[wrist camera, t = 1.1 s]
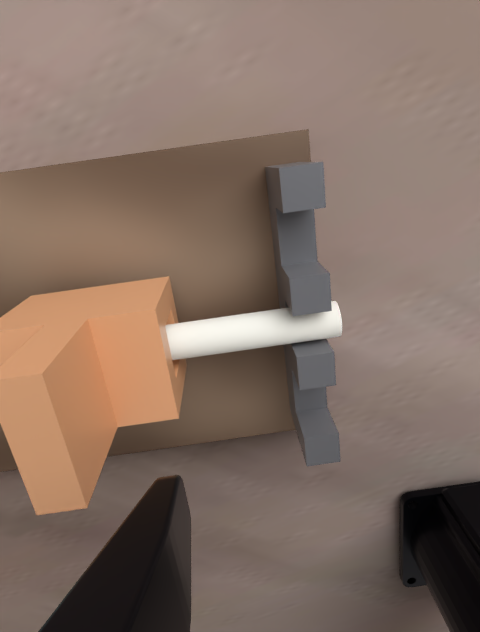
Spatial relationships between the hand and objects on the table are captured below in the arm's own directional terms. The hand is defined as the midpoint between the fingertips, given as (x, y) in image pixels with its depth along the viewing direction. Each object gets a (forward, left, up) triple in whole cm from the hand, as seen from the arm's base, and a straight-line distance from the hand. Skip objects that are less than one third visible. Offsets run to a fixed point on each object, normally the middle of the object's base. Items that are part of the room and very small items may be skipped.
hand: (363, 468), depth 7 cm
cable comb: (0, 0, -10) cm, 10 cm away
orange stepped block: (0, +7, -9) cm, 11 cm away
